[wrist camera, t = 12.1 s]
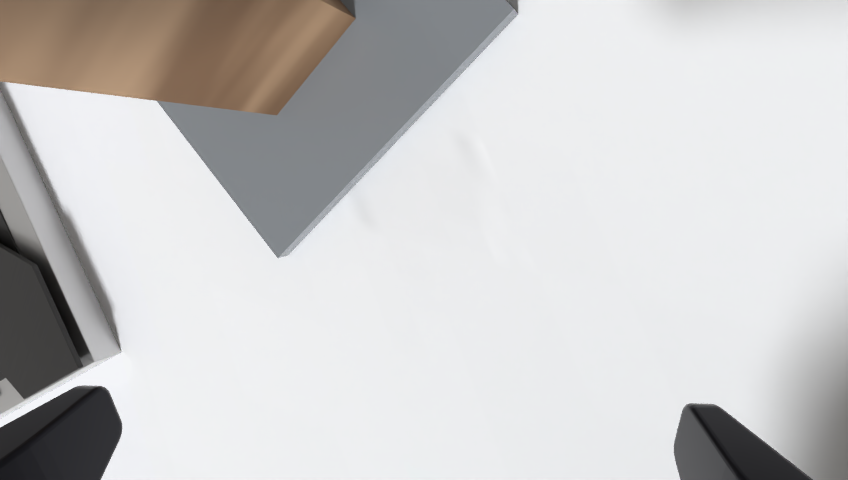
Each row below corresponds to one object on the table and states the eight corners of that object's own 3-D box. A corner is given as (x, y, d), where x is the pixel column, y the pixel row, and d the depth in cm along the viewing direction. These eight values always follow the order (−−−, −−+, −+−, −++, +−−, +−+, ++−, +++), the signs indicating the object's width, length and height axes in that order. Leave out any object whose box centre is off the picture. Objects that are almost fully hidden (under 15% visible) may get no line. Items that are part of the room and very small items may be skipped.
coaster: (517, 14, 16) (514, 9, 15) (287, 255, 20) (277, 258, 20) (284, -241, 17) (273, -253, 17) (118, 36, 22) (105, 33, 21)
